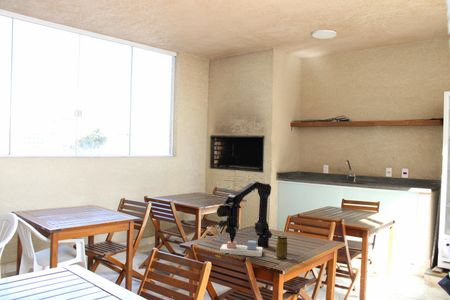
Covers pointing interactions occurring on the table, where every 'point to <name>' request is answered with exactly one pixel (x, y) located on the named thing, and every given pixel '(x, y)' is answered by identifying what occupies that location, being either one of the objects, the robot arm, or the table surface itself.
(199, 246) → the table surface
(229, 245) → the terracotta key
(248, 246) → the slate key
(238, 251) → the key panel
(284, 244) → the condiment
